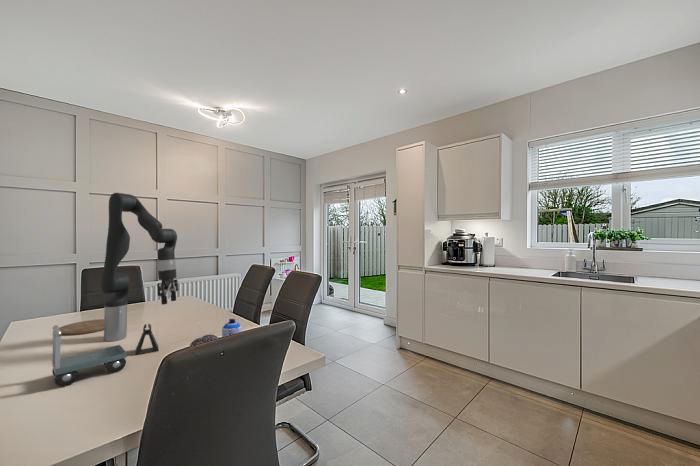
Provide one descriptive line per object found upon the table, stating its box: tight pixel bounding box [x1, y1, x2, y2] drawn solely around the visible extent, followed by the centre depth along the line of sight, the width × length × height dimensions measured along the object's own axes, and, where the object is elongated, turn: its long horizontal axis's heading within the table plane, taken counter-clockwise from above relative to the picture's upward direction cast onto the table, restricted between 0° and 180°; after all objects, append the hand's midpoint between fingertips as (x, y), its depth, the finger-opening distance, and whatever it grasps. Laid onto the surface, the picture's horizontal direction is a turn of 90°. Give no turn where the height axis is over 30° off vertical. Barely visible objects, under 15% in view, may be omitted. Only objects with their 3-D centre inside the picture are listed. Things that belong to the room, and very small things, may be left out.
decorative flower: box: [189, 334, 219, 346], centre depth 123 cm, size 15×12×15 cm
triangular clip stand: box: [134, 323, 159, 357], centre depth 134 cm, size 9×6×12 cm, turn 124°
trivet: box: [59, 318, 104, 337], centre depth 166 cm, size 25×25×2 cm
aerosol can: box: [221, 318, 243, 338], centre depth 119 cm, size 8×8×20 cm
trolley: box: [51, 324, 127, 388], centre depth 112 cm, size 12×20×20 cm, turn 139°
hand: (169, 302), depth 141 cm, fingers open, 8 cm apart
